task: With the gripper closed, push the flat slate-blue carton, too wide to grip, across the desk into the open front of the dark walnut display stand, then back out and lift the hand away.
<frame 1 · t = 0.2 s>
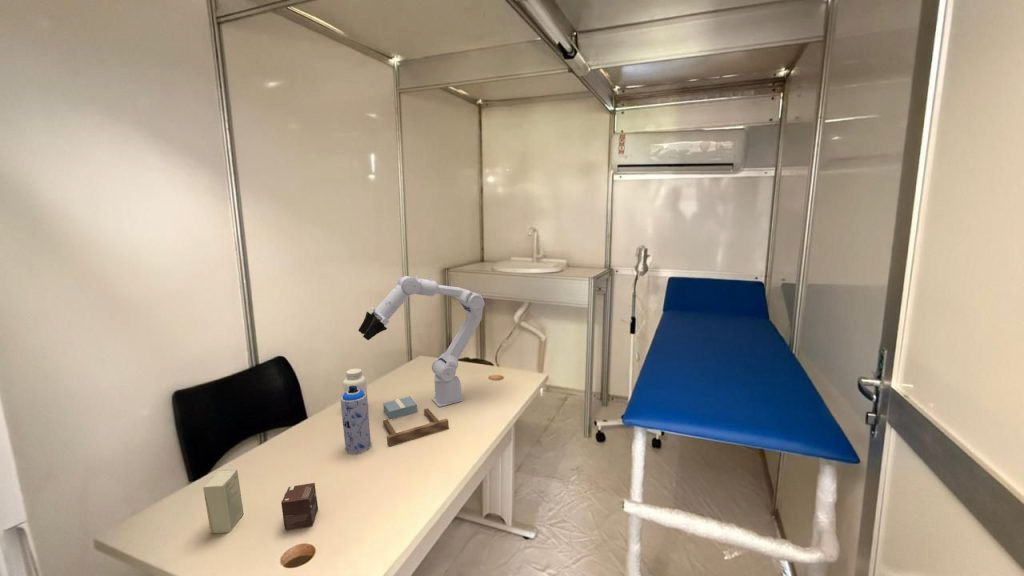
hand: (362, 335, 140), 31 cm above the table, tool tilted 45°, fingers open, 7 cm apart
display stand: (412, 428, 140), on the table
carton: (400, 412, 152), on the table
aerosol can: (358, 447, 129), on the table
box: (302, 520, 99), on the table
pill bottle: (357, 409, 154), on the table
skincare box: (228, 524, 98), on the table
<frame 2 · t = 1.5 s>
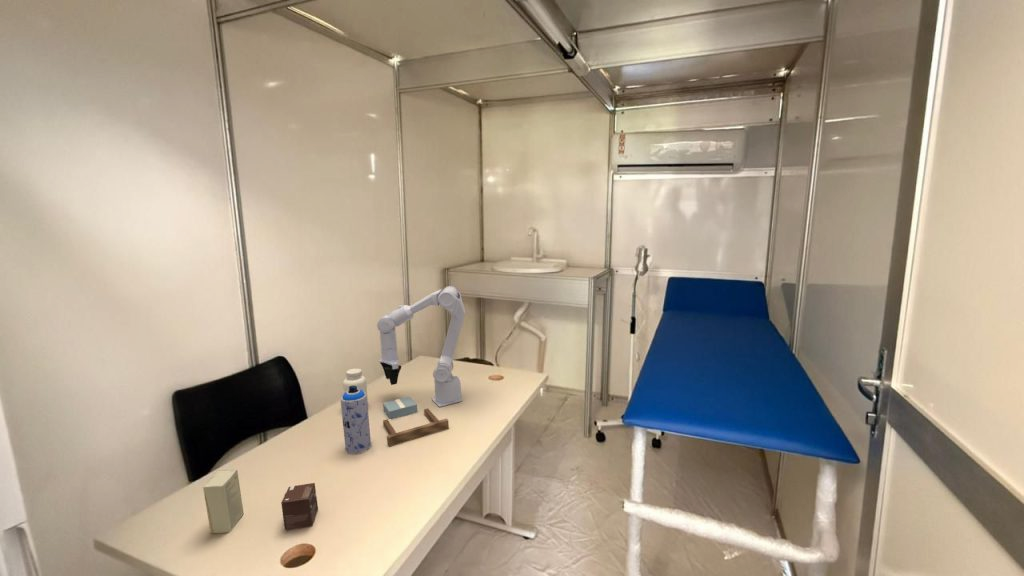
hand: (391, 381, 158), 8 cm above the table, tool pointing down, fingers open, 6 cm apart
nothing on the table moved.
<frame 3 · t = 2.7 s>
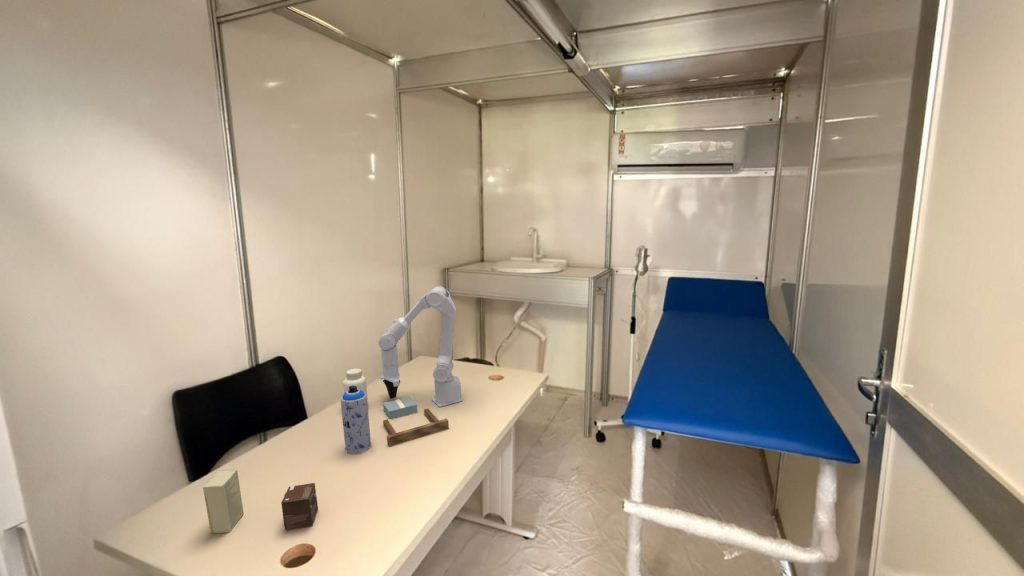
hand: (392, 397, 159), 2 cm above the table, tool pointing down, fingers closed
nothing on the table moved.
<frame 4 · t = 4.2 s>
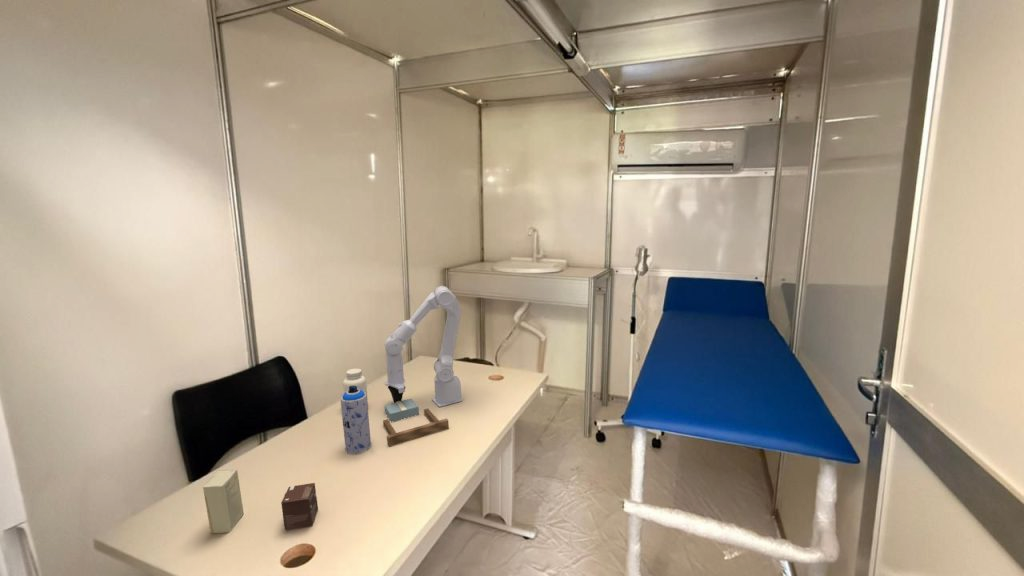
hand: (397, 404, 154), 2 cm above the table, tool pointing down, fingers closed
carton: (401, 414, 150), on the table, touching gripper
everything else where it was.
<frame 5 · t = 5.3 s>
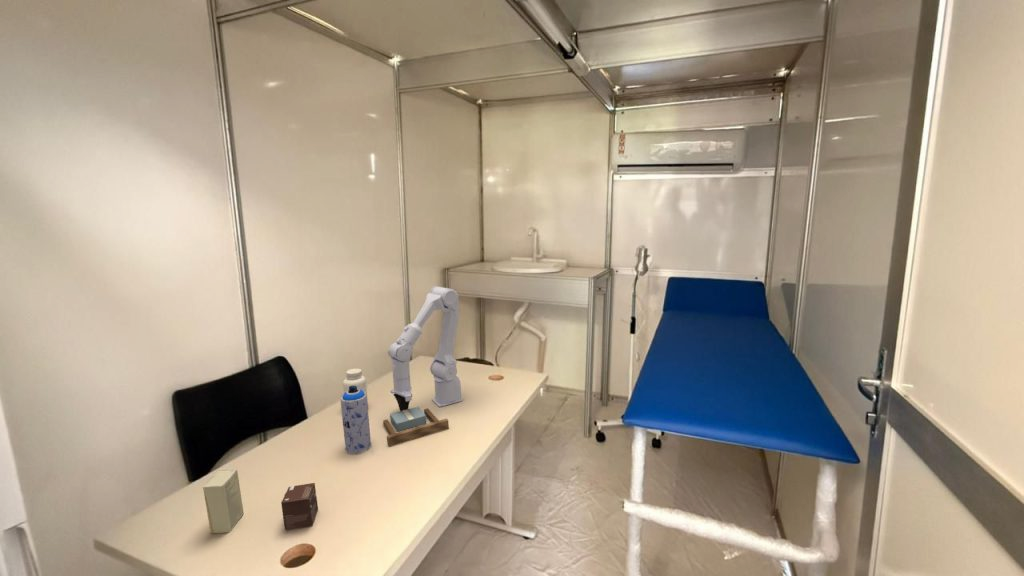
hand: (404, 412, 147), 2 cm above the table, tool pointing down, fingers closed
carton: (408, 424, 143), on the table, touching gripper
everything else where it was.
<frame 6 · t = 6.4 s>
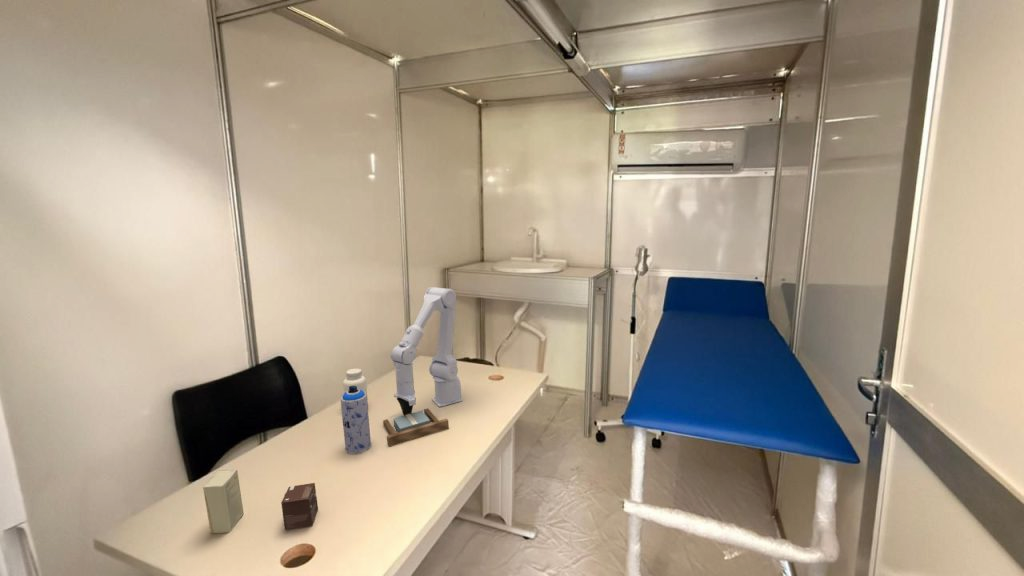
hand: (407, 416, 144), 2 cm above the table, tool pointing down, fingers closed
carton: (412, 428, 140), on the table
everything else where it was.
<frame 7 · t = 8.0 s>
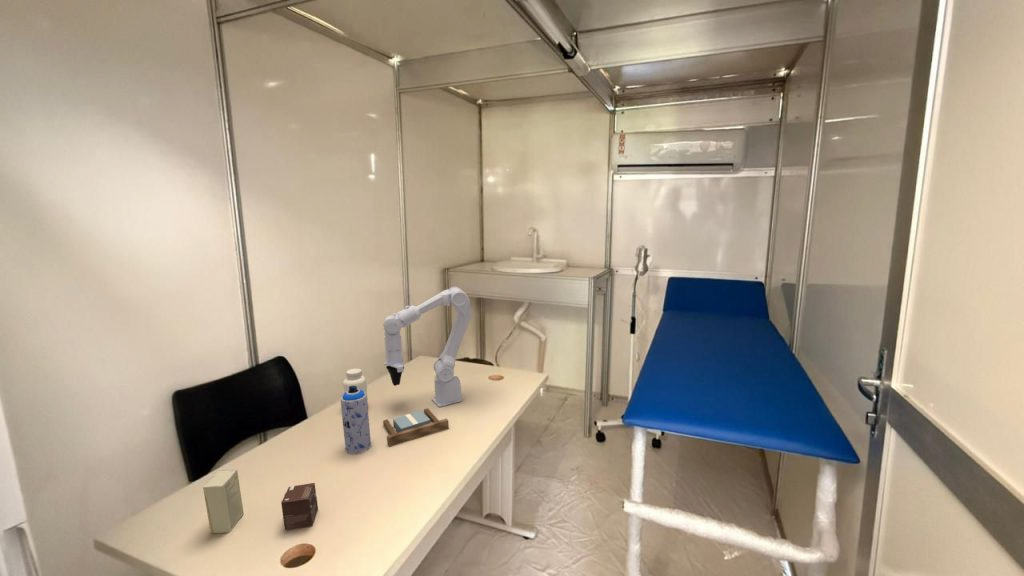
hand: (396, 384, 153), 9 cm above the table, tool pointing down, fingers closed
nothing on the table moved.
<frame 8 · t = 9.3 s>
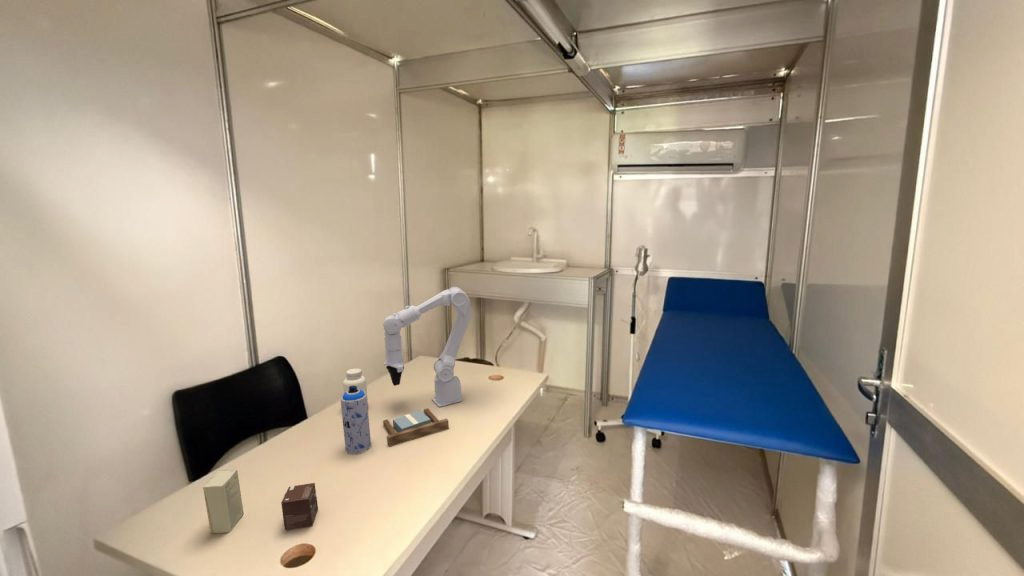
hand: (396, 384, 153), 9 cm above the table, tool pointing down, fingers closed
nothing on the table moved.
at the end: carton 0.2 cm off-centre on the display stand, point 0.0 cm above the display stand's base; carton tilted 0°; carton moved 13.7 cm from its start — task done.
